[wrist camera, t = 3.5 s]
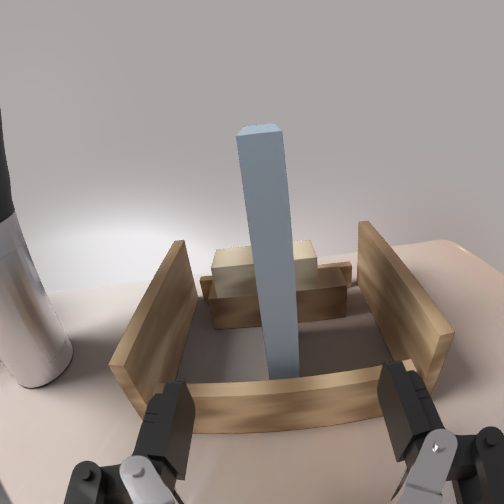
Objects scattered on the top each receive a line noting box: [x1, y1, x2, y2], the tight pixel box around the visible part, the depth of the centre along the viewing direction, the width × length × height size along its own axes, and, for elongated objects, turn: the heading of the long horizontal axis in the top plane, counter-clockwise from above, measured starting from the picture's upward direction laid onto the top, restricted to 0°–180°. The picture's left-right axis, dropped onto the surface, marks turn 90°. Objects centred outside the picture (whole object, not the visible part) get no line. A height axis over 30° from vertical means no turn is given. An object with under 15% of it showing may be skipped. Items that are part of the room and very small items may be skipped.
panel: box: [236, 123, 300, 380], centre depth 22 cm, size 2×9×20 cm, turn 179°
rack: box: [109, 221, 455, 433], centre depth 27 cm, size 22×20×8 cm
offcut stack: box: [208, 240, 347, 329], centre depth 32 cm, size 14×4×8 cm, turn 89°
